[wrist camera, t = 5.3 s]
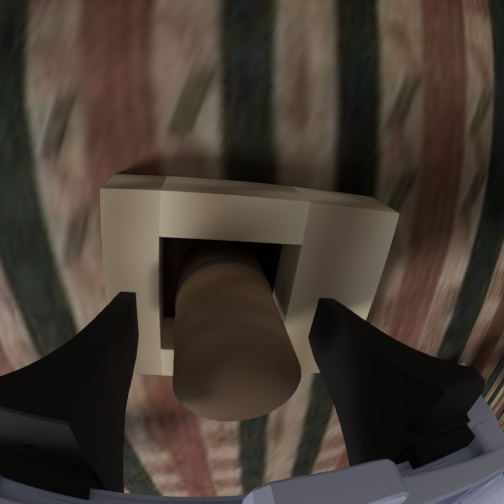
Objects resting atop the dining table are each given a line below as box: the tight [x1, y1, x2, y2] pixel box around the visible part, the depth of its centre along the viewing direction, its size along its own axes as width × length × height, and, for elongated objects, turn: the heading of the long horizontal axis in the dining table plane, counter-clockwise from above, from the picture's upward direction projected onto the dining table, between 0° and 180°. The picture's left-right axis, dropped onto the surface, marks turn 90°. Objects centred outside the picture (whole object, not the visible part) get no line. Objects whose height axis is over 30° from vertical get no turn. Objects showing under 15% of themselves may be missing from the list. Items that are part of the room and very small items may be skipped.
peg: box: [173, 239, 301, 421], centre depth 12 cm, size 4×4×7 cm
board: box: [100, 174, 399, 376], centre depth 15 cm, size 12×9×2 cm
